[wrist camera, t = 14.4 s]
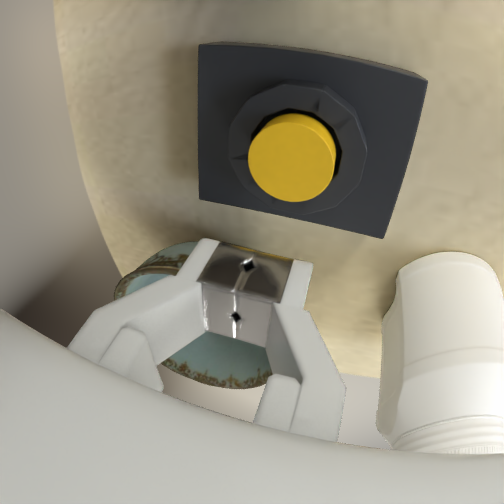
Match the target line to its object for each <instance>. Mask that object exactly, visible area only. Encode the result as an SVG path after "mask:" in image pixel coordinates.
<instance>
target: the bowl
mask: <svg viewBox="0 0 504 504" xmlns="http://www.w3.org/2000/svg"><path fill="white" fill-rule="evenodd" d="M197 244H198V242H186V243H180V244H176V245H174V246H171V247H168V248H166V249H163V250H161V251H159V252H158V253H156V254H155V255H153V256H152V257H150V258H149V259H148V260H146V261H145V262H144V263H143V264H142V265H141V266H139V267H138V268H137V269H136V270H135V271H133V272H131V273H130V274H128V275H126V276H124V277H123V278H122V280H120V282H119V283H118V285H117V287H116V289H115V292H114V301H115V300H118V299H120V298H122V297H124V296H126V295H128V294H130V293H133V292H135V291H137V290H139V289H141V288H143V287H145V286H147V285H150V284H152V283H154V282H156V281H158V280H160V279H163V278H165V277H167V276H169V275H173V276H176V275H177V273H178V272H179V270H180V269H181V267H182V266H183V264H184V263H185V261H186V260H187V258H188V257H189V255H190V254H191V253H192V251H193V250H194V248H195V247H196V245H197ZM161 364H162V365H164V366H166V367H167V368H169V369H170V370H172V371H174V372H176V373H178V374H180V375H183V376H185V377H188V378H190V379H193V380H195V381H198V382H200V383H203V384H207V385H211V386H216V387H222V388H229V389H248V388H254V387H258V386H262V385H264V384H266V383H267V380H268V377H270V376H272V375H273V373H272V370H271V366H270V363H269V360H268V356H267V353H266V348H265V347H262V346H258V345H255V344H251V343H248V342H245V341H242V340H238V339H236V338H231V337H227V336H224V335H220V334H216V333H213V332H209V331H205V333H203V334H202V335H200V336H199V337H197V338H196V339H195V340H193V341H192V342H190V343H189V344H187V345H186V346H185V347H183V348H182V349H180V350H179V351H177V352H176V353H174V354H173V355H172V356H170V357H169V358H167V359H166V360H164V361H163V362H161Z"/></svg>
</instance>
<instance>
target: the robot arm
mask: <svg viewBox="0 0 504 504" xmlns="http://www.w3.org/2000/svg"><path fill="white" fill-rule="evenodd" d="M312 270H313V263H311V262H307V261H302V260H297V259H291V258H287V257H282V256H278V255H273V254H269V253H265V252H260V251H256V250H252V249H248V248H245V247H241V246H237V245H233V244H229V243H225V242H220V241H216V240H212V239H208V238H203V239H201V240H200V241H199V242H198V244H197V245H196V247H195V248H194V250H193V251H192V253H191V254H190V255H189V257H188V258H187V260H186V261H185V263H184V264H183V266H182V267H181V269H180V270H179V272H178V273H177V275H176V276H173V275H169V276H167V277H165V278H163V279H160V280H158V281H156V282H154V283H152V284H150V285H147V286H145V287H143V288H141V289H139V290H137V291H135V292H133V293H130V294H128V295H126V296H124V297H122V298H120V299H118V300H115V301H113V302H111V303H109V304H107V305H105V306H103V307H101V308H99V309H97V310H94V312H93V313H92V314H91V316H90V317H89V318H88V320H87V321H86V322H85V324H84V325H83V326H82V328H81V329H80V331H79V332H78V333H77V335H76V336H75V337H74V339H73V340H72V342H71V343H70V344H69V346H68V347H67V348H65V347H63V346H61V345H60V344H58V343H56V342H54V341H52V340H51V339H49V338H47V337H45V336H44V335H42V334H40V333H39V332H37V331H35V330H34V329H32V328H30V327H29V326H27V325H25V324H24V323H22V322H21V321H19V320H17V319H16V318H14V317H13V316H11V315H10V314H8V313H7V312H5V311H3V310H2V309H0V504H504V453H491V454H443V453H423V452H409V451H398V450H389V449H380V448H371V447H365V446H358V445H351V444H345V443H339V442H337V440H338V435H339V430H340V424H341V419H342V413H343V407H344V401H345V394H346V387H345V384H344V382H343V380H342V378H341V376H340V374H339V372H338V370H337V368H336V366H335V363H334V361H333V359H332V357H331V355H330V353H329V351H328V349H327V347H326V345H325V343H324V341H323V339H322V337H321V335H320V333H319V331H318V329H317V327H316V325H315V322H314V320H313V318H312V316H311V314H310V312H309V311H307V310H303V308H304V304H305V300H306V295H307V291H308V287H309V283H310V278H311V274H312ZM205 331H209V332H213V333H216V334H220V335H224V336H227V337H231V338H236V339H238V340H242V341H245V342H248V343H251V344H255V345H258V346H262V347H265V348H266V353H267V356H268V360H269V363H270V366H271V370H272V373H273V375H272V376H270V377H268V380H267V383H266V386H265V389H264V392H263V394H262V397H261V400H260V403H259V406H258V409H257V412H256V414H255V418H254V420H253V423H251V422H247V421H244V420H240V419H237V418H234V417H230V416H227V415H224V414H221V413H218V412H215V411H212V410H209V409H205V408H203V407H200V406H197V405H194V404H191V403H188V402H186V401H183V400H180V399H178V398H175V397H172V396H170V395H167V394H164V393H162V390H163V388H164V386H163V383H162V381H161V378H160V375H159V372H158V370H157V367H156V366H157V365H158V364H160V363H161V362H163V361H164V360H166V359H167V358H169V357H170V356H172V355H173V354H174V353H176V352H177V351H179V350H180V349H182V348H183V347H185V346H186V345H187V344H189V343H190V342H192V341H193V340H195V339H196V338H197V337H199V336H200V335H202V334H203V333H205Z"/></svg>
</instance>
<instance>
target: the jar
mask: <svg viewBox="0 0 504 504" xmlns="http://www.w3.org/2000/svg"><path fill="white" fill-rule="evenodd" d="M376 426H377V429H378V431H379V432H380V433H381V434H382V436H383V437H384V439H385V440H386V441H387V443H388V444H389V446H390V447H391V450H398V451H409V452H423V453H443V454H491V453H504V298H503V295H502V289H501V286H500V283H499V280H498V278H497V276H496V274H495V272H494V270H493V269H492V268H491V266H490V265H489V264H488V263H486V262H485V261H484V260H482V259H480V258H479V257H477V256H474V255H471V254H468V253H463V252H439V253H434V254H430V255H427V256H424V257H421V258H419V259H416V260H414V261H412V262H410V263H409V264H407V265H405V266H404V267H403V268H401V269H400V270H399V272H398V275H397V278H396V295H395V299H394V301H393V304H392V306H391V307H390V309H389V311H388V312H387V313H386V314H385V315H384V318H383V321H382V360H381V378H380V393H379V405H378V410H377V415H376Z"/></svg>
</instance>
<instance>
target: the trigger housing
mask: <svg viewBox="0 0 504 504" xmlns="http://www.w3.org/2000/svg"><path fill="white" fill-rule="evenodd" d="M427 84H428V80H426V79H425V78H423V77H421V76H420V75H418V74H416V73H414V72H410V71H407V70H403V69H400V68H396V67H393V66H389V65H385V64H381V63H377V62H373V61H369V60H364V59H360V58H355V57H350V56H345V55H340V54H335V53H329V52H323V51H317V50H310V49H303V48H296V47H287V46H278V45H268V44H255V43H239V42H215V43H207V44H200V45H199V48H198V173H199V199H200V200H205V201H211V202H216V203H221V204H226V205H231V206H236V207H241V208H246V209H251V210H256V211H261V212H266V213H270V214H275V215H280V216H285V217H289V218H294V219H298V220H303V221H307V222H312V223H316V224H321V225H325V226H330V227H334V228H338V229H343V230H347V231H351V232H356V233H360V234H364V235H368V236H372V237H376V238H380V239H383V238H384V236H385V233H386V230H387V227H388V224H389V221H390V219H391V216H392V213H393V210H394V207H395V204H396V201H397V197H398V194H399V191H400V188H401V185H402V182H403V178H404V175H405V172H406V168H407V165H408V161H409V158H410V154H411V151H412V147H413V143H414V139H415V136H416V132H417V128H418V124H419V120H420V116H421V111H422V107H423V103H424V98H425V94H426V89H427ZM289 113H298V114H303V115H307V116H310V117H312V118H314V119H316V120H317V121H319V122H320V123H321V124H323V125H324V126H325V127H326V129H327V130H328V131H329V132H330V134H331V136H332V138H333V140H334V143H335V148H336V158H335V165H334V172H333V176H332V179H331V181H330V183H329V184H328V186H327V187H326V188H325V190H324V191H323V192H321V193H320V194H319V195H317V196H316V197H314V198H312V199H309V200H306V201H300V202H289V201H284V200H280V199H278V198H275V197H273V196H271V195H269V194H268V193H266V192H265V191H264V190H263V189H262V188H261V187H260V186H259V185H258V184H257V183H256V181H255V180H254V178H253V177H252V174H251V172H250V169H249V164H248V152H249V148H250V145H251V143H252V141H253V139H254V138H255V137H256V135H257V134H258V133H259V132H260V131H261V130H262V129H263V127H264V126H265V125H266V124H267V123H268V122H269V121H271V120H272V119H274V118H276V117H278V116H280V115H284V114H289Z"/></svg>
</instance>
